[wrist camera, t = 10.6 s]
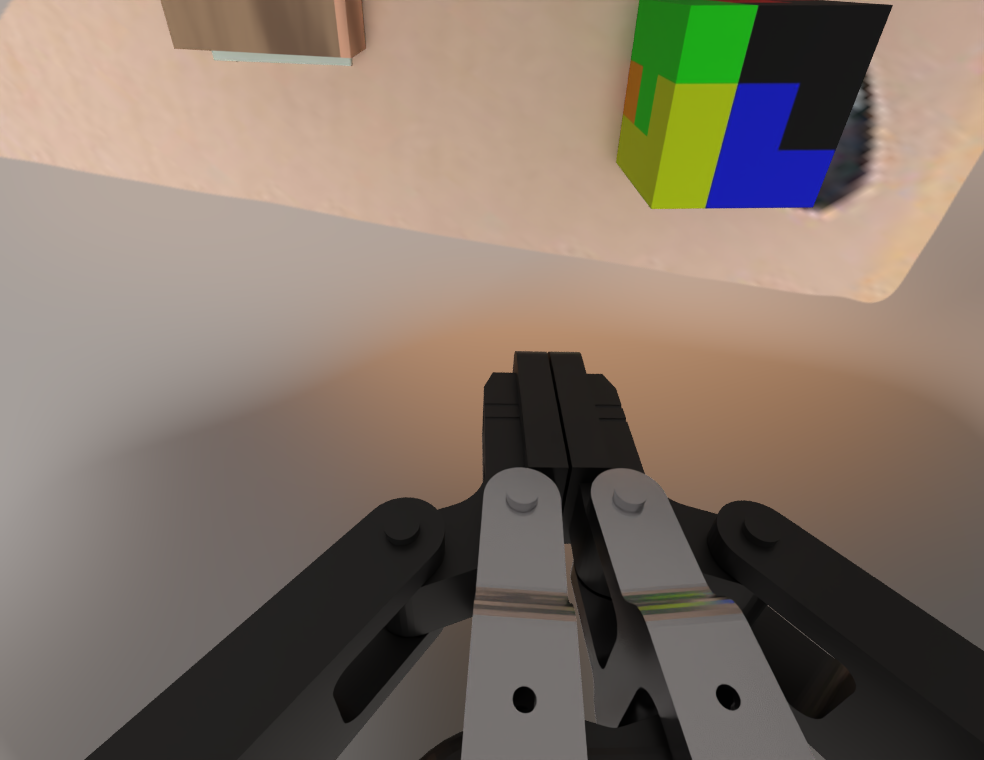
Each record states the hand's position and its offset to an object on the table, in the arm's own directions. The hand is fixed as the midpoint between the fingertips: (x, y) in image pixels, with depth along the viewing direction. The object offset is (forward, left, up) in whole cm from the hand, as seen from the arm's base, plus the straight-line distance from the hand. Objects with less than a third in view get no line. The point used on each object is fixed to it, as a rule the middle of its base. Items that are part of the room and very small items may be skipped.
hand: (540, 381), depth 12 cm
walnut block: (+9, -6, -28) cm, 30 cm away
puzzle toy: (-14, -2, -31) cm, 34 cm away
